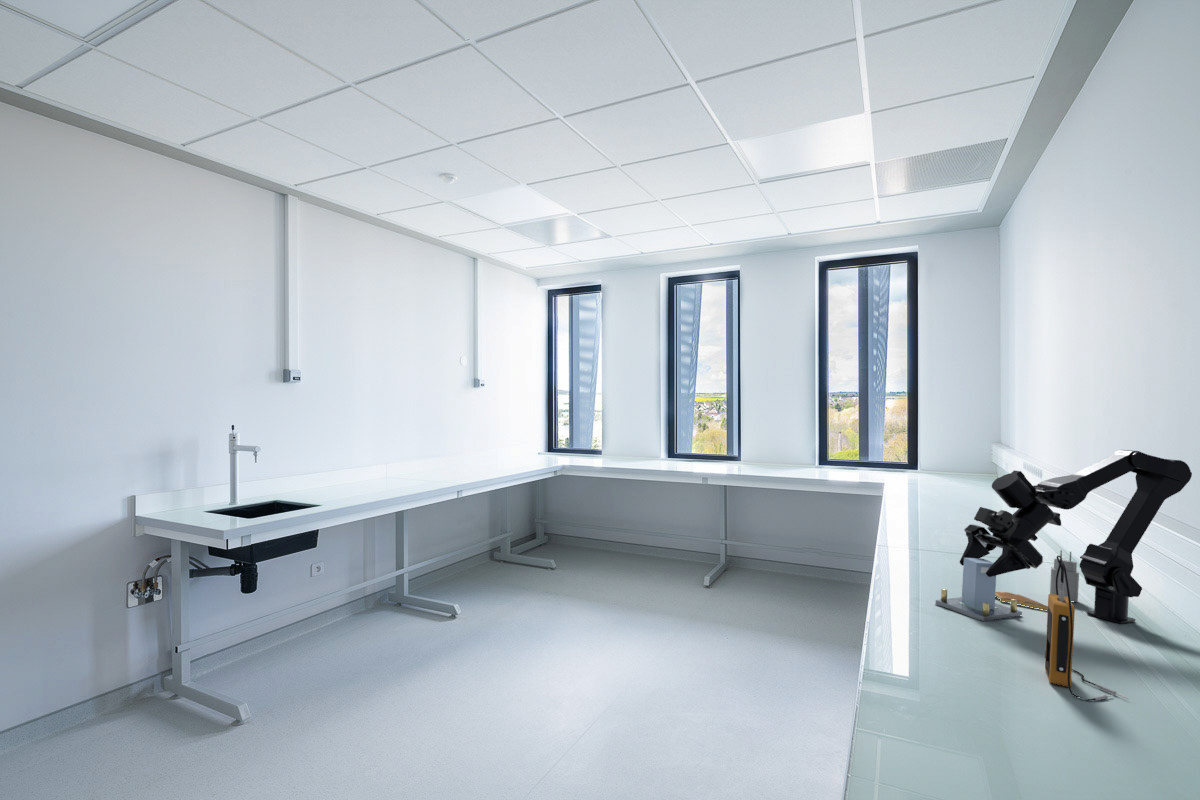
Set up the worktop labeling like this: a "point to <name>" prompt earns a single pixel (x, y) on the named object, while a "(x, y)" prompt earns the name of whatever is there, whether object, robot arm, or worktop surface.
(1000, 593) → the shard
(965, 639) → the worktop surface
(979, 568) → the block
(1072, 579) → the power adapter
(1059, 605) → the multimeter
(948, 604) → the chassis plate
